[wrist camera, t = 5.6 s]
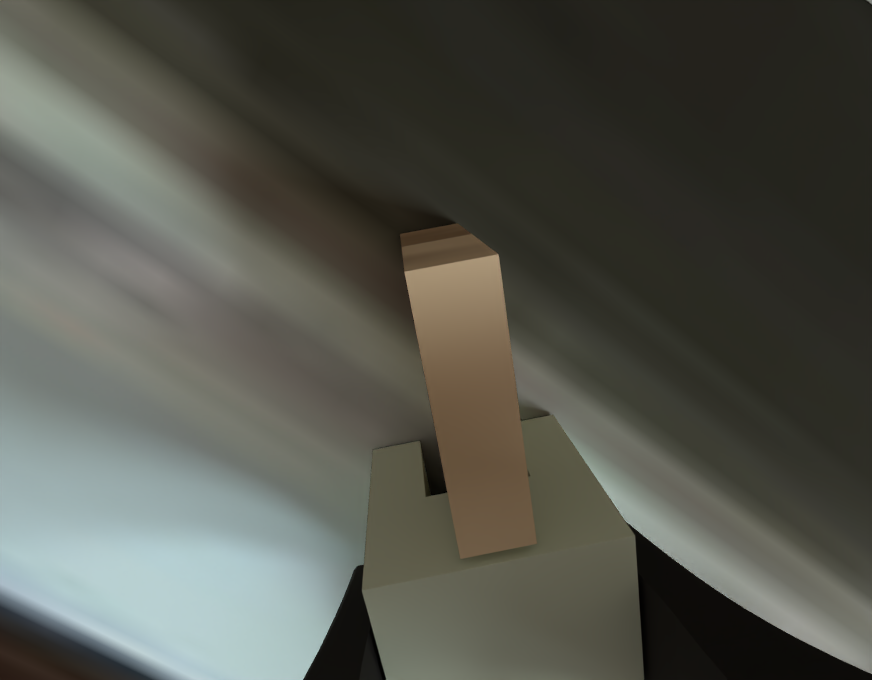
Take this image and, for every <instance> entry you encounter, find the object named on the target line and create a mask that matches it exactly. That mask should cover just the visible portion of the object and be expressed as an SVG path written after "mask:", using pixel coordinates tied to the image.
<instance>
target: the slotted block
mask: <svg viewBox="0 0 872 680" xmlns="http://www.w3.org/2000/svg"><path fill="white" fill-rule="evenodd" d="M521 427H522V435H523V442H524V450H525V457H526V465H527V472H528V479H529V487H530V494H531V502H532V509H533V517H534V524H535V532H536V539H537V544H533V545H528V546H523V547H518V548H513V549H508V550H503V551H499V552H494V553H489V554H484V555H479V556H474V557H469V558H464V559H460V555H459V550H458V545H457V540H456V534H455V529H454V524H453V519H452V514H451V509H450V504H449V498H448V493H444V494H439V495H433V496H431V492H430V487H429V482H428V477H427V473H426V468H425V463H424V458H423V453H422V448H421V443H420V441H416V442H411V443H405V444H400V445H395V446H390V447H385V448H380V449H375V450H373V453H372V466H371V479H370V492H369V505H368V518H367V531H366V544H365V557H364V570H363V583H362V593H363V596H364V600H365V604H366V607H367V611H368V615H369V618H370V622H371V626H372V629H373V633H374V637H375V640H376V644H377V648H378V651H379V655H380V658H381V662H382V666H383V669H384V673H385V677H386V680H644V668H643V653H642V637H641V621H640V606H639V590H638V574H637V558H636V543H635V535H634V533H633V532H632V530H631V529H630V527H629V526H628V524H627V523H626V522H625V520H624V519H623V517H622V516H621V514H620V513H619V511H618V510H617V508H616V507H615V505H614V504H613V502H612V501H611V499H610V498H609V496H608V495H607V494H606V492H605V491H604V489H603V488H602V486H601V485H600V483H599V482H598V480H597V479H596V477H595V476H594V474H593V473H592V471H591V470H590V468H589V467H588V466H587V464H586V463H585V461H584V460H583V458H582V457H581V455H580V454H579V452H578V451H577V449H576V448H575V446H574V445H573V443H572V442H571V440H570V439H569V438H568V436H567V435H566V433H565V432H564V430H563V429H562V427H561V426H560V424H559V423H558V421H557V420H556V418H555V417H554V415H549V416H544V417H539V418H534V419H529V420H524V421H521Z"/></svg>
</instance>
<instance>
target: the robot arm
mask: <svg viewBox="0 0 872 680" xmlns="http://www.w3.org/2000/svg"><path fill="white" fill-rule="evenodd" d="M625 522H626V521H625ZM626 523H627V522H626ZM627 524H628V523H627ZM628 526H629V527H630V529H631V530H632V532H633V533H634V535H635V543H636V558H637V574H638V590H639V606H640V621H641V637H642V653H643V668H644V680H872V674H870V673H868V672H865V671H863V670H861V669H859V668H857V667H855V666H852V665H850V664H848V663H846V662H844V661H841V660H839V659H837V658H835V657H833V656H831V655H829V654H827V653H825V652H823V651H821V650H819V649H817V648H815V647H813V646H811V645H809V644H807V643H805V642H803V641H801V640H799V639H797V638H795V637H794V636H792V635H790V634H788V633H786V632H784V631H782V630H781V629H779V628H777V627H775V626H774V625H772V624H770V623H768V622H767V621H765V620H763V619H761V618H760V617H758V616H756V615H755V614H753V613H751V612H749V611H748V610H746V609H744V608H743V607H741V606H740V605H738V604H736V603H735V602H733V601H732V600H730V599H729V598H727V597H726V596H724V595H723V594H721V593H720V592H718V591H717V590H715V589H714V588H712V587H711V586H709V585H708V584H706V583H705V582H704V581H702V580H701V579H699V578H698V577H696V576H695V575H694V574H692V573H691V572H690V571H688V570H687V569H686V568H684V567H683V566H681V565H680V564H679V563H677V562H676V561H675V560H673V559H672V558H671V557H669V556H668V555H667V554H666V553H664V552H663V551H662V550H660V549H659V548H658V547H657V546H655V545H654V544H653V543H652V542H650V541H649V540H648V539H646V538H645V537H644V536H643V535H642V534H640V533H639V532H638V531H637V530H635V529H634V528H633V527H632V526H631V525H629V524H628ZM363 570H364V565H359V566H357V567H356V568H355V570H354V572H353V574H352V577H351V580H350V582H349V585H348V587H347V590H346V592H345V595H344V597H343V600H342V602H341V604H340V607H339V609H338V611H337V613H336V616H335V618H334V620H333V622H332V624H331V626H330V628H329V631H328V633H327V635H326V637H325V639H324V641H323V643H322V645H321V647H320V649H319V651H318V653H317V655H316V657H315V659H314V661H313V662H312V664H311V666H310V668H309V670H308V672H307V674H306V675H305V677H304V679H303V680H386V677H385V673H384V669H383V666H382V662H381V658H380V655H379V651H378V648H377V644H376V640H375V637H374V633H373V629H372V626H371V622H370V618H369V615H368V611H367V607H366V604H365V600H364V596H363V593H362V583H363Z"/></svg>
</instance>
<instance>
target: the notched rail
mask: <svg viewBox="0 0 872 680" xmlns="http://www.w3.org/2000/svg"><path fill="white" fill-rule="evenodd" d="M400 239H401V248H402V256H403V264H404V272H405V277H406V282H407V288H408V293H409V298H410V303H411V308H412V313H413V318H414V324H415V329H416V334H417V339H418V344H419V349H420V354H421V360H422V365H423V370H424V375H425V380H426V385H427V390H428V396H429V401H430V406H431V411H432V416H433V421H434V426H435V432H436V437H437V442H438V447H439V452H440V457H441V462H442V468H443V473H444V478H445V483H446V488H447V493H448V498H449V504H450V509H451V514H452V519H453V524H454V529H455V534H456V540H457V545H458V550H459V555H460V559H464V558H469V557H474V556H479V555H484V554H489V553H494V552H499V551H503V550H508V549H513V548H518V547H523V546H528V545H533V544H537V539H536V532H535V524H534V517H533V509H532V502H531V494H530V487H529V479H528V472H527V465H526V457H525V450H524V442H523V435H522V427H521V420H520V412H519V405H518V397H517V390H516V382H515V375H514V367H513V360H512V352H511V345H510V337H509V330H508V322H507V315H506V307H505V300H504V292H503V285H502V277H501V270H500V262H499V255H498V254H497V253H496V252H495V251H493V250H492V249H491V248H489V247H488V246H487V245H485V244H484V243H483V242H481V241H480V240H479V239H477V238H476V237H475V236H474V235H472V234H471V233H470V232H468V231H467V230H466V229H464V228H463V227H462V226H460V225H459V224H458V223H457V224H452V225H446V226H441V227H435V228H430V229H425V230H419V231H414V232H408V233H403V234H400Z"/></svg>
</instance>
